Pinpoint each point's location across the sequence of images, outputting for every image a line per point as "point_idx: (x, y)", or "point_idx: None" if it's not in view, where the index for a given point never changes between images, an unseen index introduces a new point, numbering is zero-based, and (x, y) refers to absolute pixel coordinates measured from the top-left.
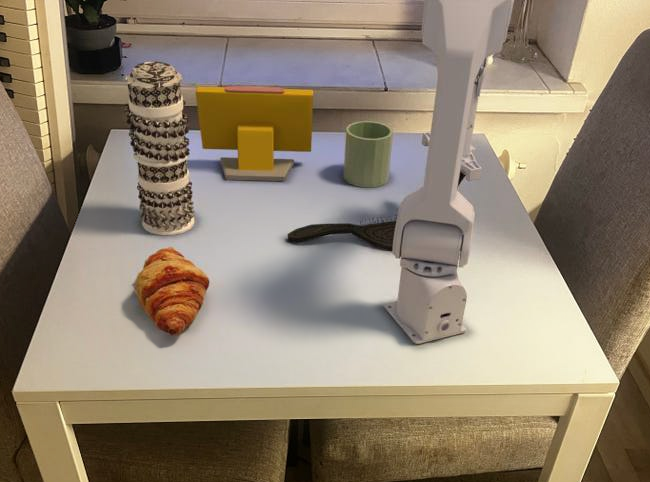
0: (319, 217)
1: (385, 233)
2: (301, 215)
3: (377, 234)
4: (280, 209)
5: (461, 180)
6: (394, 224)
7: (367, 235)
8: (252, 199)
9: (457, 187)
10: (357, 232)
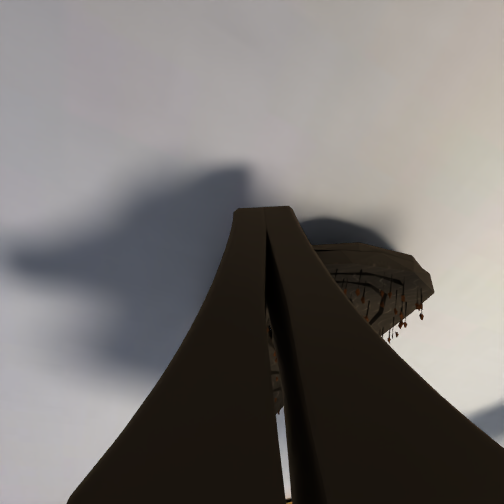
0: (117, 404)
1: (273, 347)
2: (102, 422)
3: (277, 366)
4: (69, 438)
5: (398, 362)
6: (275, 355)
7: (277, 385)
8: (19, 457)
9: (346, 298)
10: (275, 413)
